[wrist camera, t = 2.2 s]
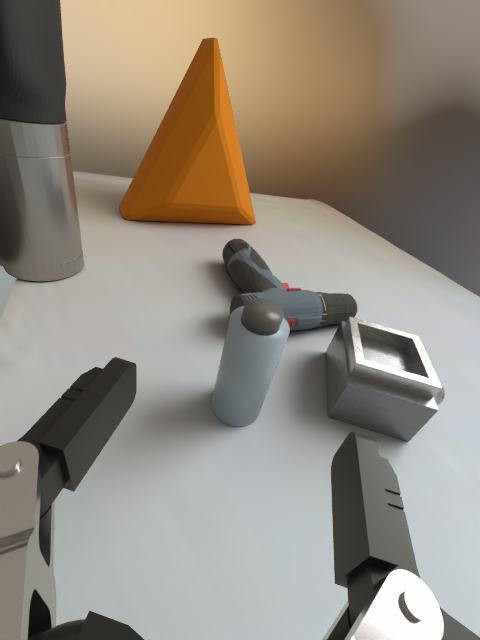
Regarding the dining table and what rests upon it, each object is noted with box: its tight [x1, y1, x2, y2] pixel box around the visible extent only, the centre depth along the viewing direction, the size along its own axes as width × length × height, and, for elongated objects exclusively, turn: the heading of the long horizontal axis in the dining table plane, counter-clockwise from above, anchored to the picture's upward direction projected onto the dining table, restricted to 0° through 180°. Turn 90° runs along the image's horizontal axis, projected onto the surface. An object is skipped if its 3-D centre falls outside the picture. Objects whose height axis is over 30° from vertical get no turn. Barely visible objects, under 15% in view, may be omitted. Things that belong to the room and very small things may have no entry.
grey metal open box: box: [326, 317, 444, 442], centre depth 31 cm, size 11×10×6 cm
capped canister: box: [212, 298, 290, 427], centre depth 25 cm, size 5×5×11 cm
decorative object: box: [119, 38, 256, 225], centre depth 58 cm, size 30×15×30 cm, turn 115°
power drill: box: [222, 239, 359, 331], centre depth 45 cm, size 5×19×20 cm
